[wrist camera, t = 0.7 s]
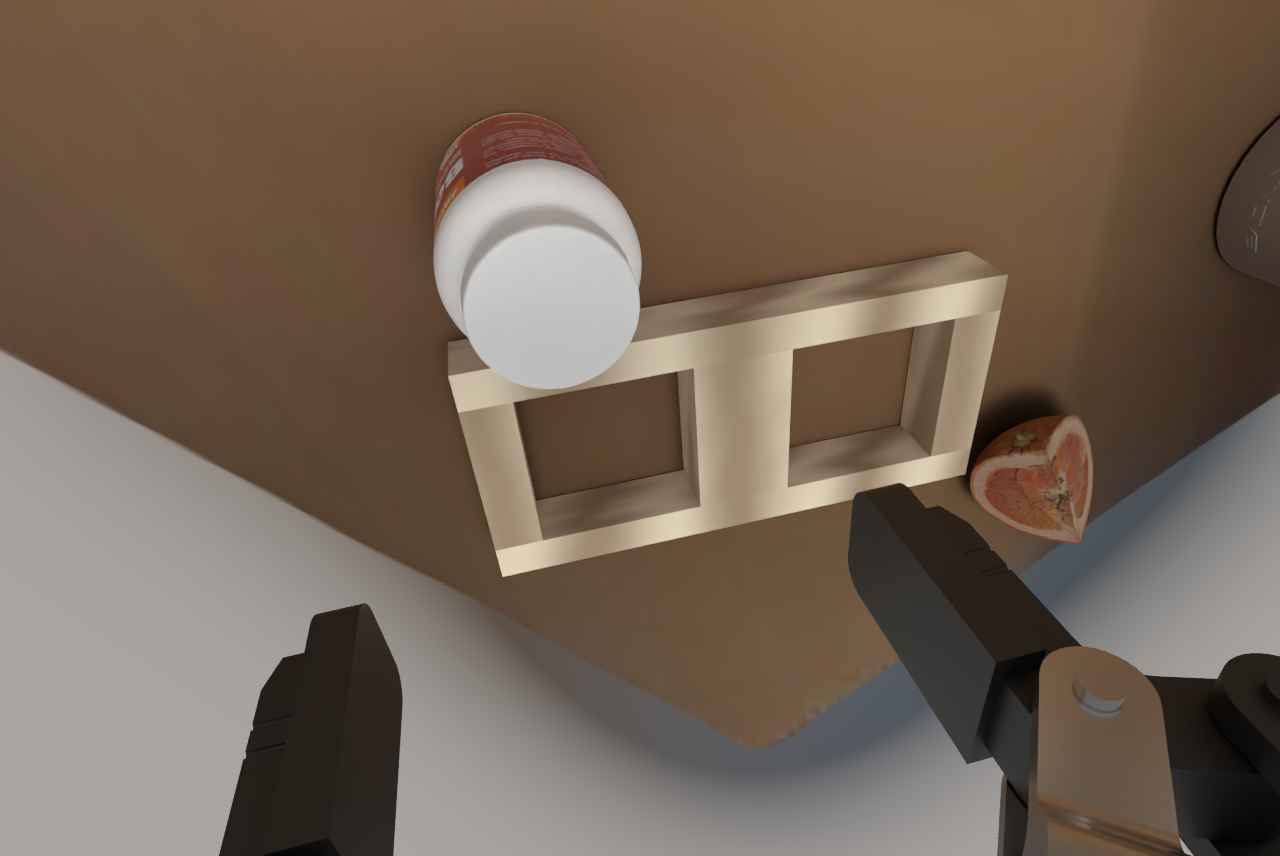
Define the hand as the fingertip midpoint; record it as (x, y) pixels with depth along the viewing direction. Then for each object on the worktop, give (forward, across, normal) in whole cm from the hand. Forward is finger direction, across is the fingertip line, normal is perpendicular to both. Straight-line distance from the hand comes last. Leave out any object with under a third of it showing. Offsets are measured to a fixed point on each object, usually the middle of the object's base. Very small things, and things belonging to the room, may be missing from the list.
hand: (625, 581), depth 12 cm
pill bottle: (+20, 0, -1) cm, 20 cm away
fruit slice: (+20, -25, +18) cm, 37 cm away
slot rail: (+20, -8, +10) cm, 24 cm away
